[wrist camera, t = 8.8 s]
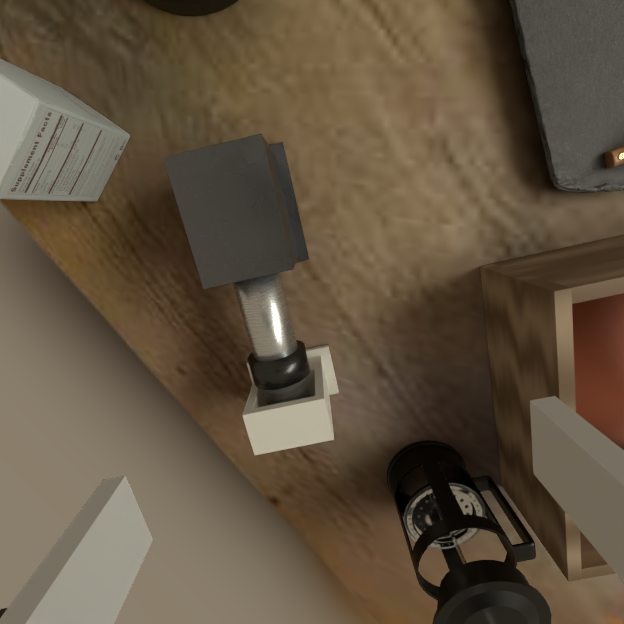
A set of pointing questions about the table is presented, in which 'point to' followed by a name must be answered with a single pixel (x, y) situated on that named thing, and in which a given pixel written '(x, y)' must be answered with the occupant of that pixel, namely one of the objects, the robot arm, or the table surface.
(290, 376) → the rod
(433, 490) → the french press
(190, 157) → the dark grey block
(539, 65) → the serving board
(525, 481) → the box
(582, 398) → the ceramic vessels
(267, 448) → the socket
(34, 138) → the supplement box
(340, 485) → the table surface
